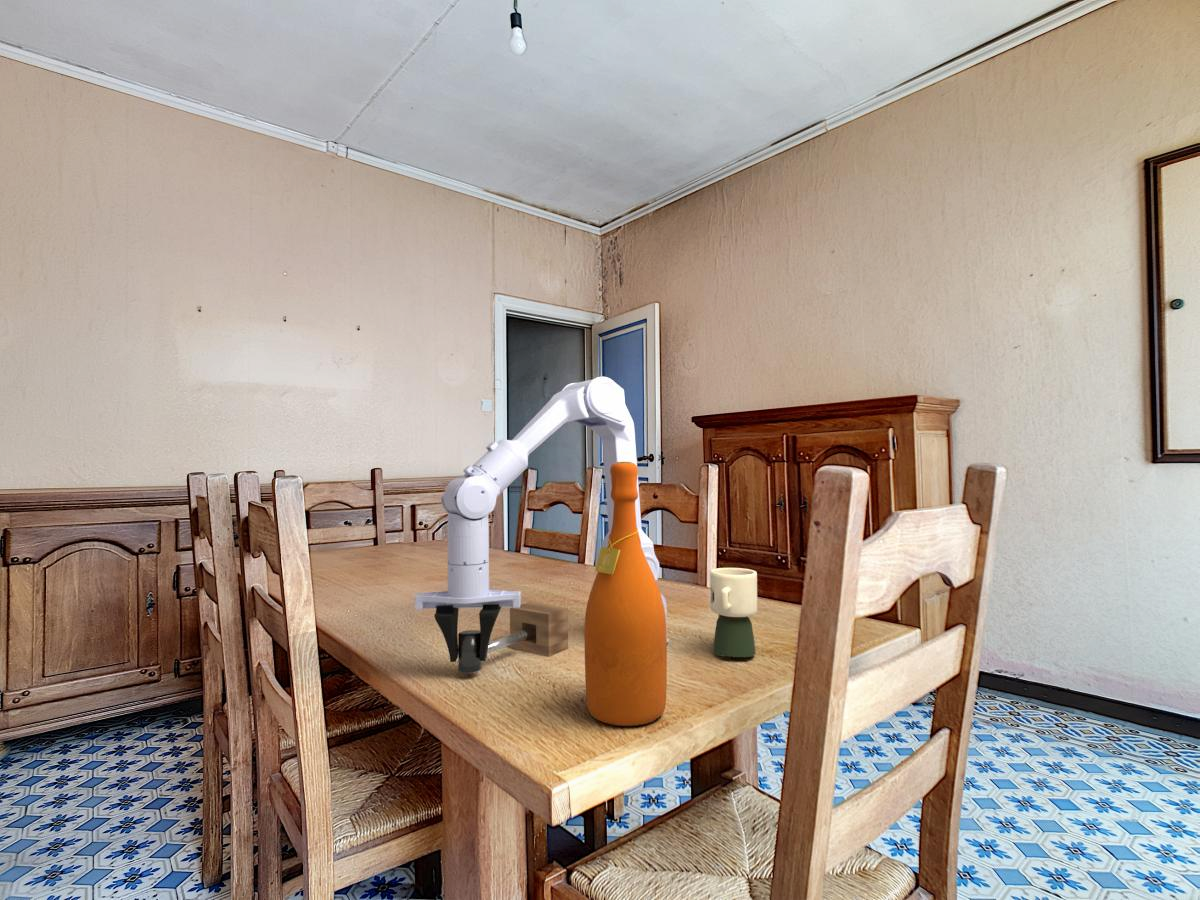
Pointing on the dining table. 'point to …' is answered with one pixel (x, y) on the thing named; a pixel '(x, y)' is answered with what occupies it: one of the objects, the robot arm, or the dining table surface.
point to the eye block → (540, 628)
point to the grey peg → (471, 648)
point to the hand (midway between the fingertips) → (468, 659)
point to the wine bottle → (625, 621)
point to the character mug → (733, 610)
